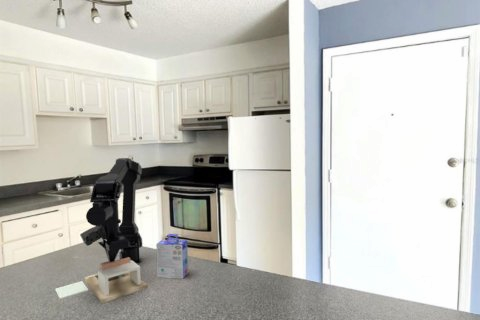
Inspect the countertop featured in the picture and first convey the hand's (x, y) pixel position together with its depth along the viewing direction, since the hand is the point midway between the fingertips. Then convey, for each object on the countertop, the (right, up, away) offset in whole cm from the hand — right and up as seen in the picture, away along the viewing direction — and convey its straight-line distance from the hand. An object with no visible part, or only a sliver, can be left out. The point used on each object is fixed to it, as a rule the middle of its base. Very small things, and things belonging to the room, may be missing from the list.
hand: (111, 263), depth 101 cm
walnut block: (-3, -7, +6) cm, 10 cm away
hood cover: (+4, -7, -2) cm, 8 cm away
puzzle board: (0, -8, +2) cm, 8 cm away
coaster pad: (-12, -8, -2) cm, 15 cm away
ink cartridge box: (+19, -7, +8) cm, 22 cm away
